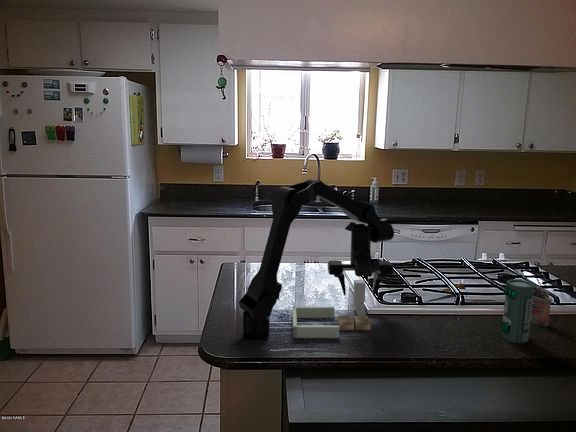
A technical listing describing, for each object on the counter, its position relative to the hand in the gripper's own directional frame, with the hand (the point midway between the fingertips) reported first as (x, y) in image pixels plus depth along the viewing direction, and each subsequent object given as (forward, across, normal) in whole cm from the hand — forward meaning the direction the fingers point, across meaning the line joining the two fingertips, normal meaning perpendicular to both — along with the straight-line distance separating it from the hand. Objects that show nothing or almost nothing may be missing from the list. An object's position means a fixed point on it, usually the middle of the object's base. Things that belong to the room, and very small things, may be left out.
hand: (359, 295), depth 140 cm
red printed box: (+5, +49, -8) cm, 50 cm away
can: (+5, +38, -19) cm, 43 cm away
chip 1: (+5, -6, -12) cm, 14 cm away
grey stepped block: (+5, 0, 0) cm, 5 cm away
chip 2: (+5, -1, -12) cm, 13 cm away
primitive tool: (+5, +28, +11) cm, 31 cm away
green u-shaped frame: (+5, -14, -12) cm, 19 cm away
